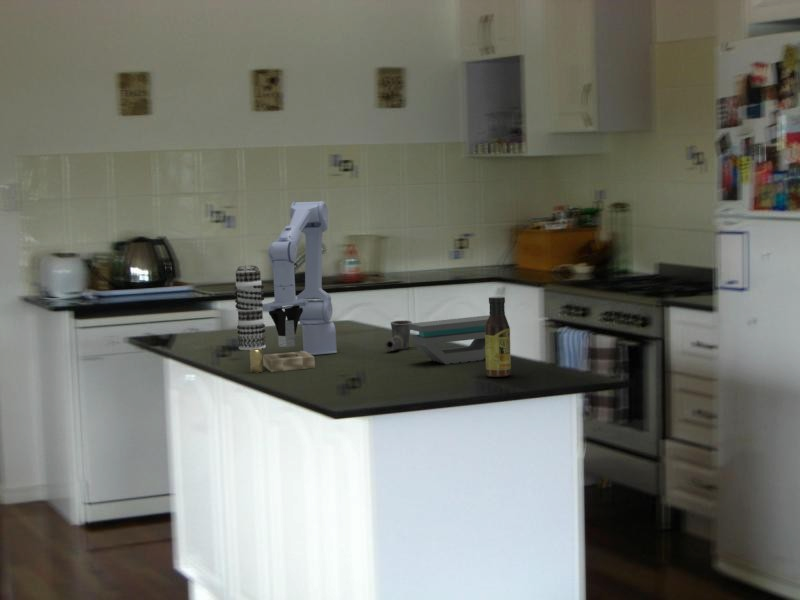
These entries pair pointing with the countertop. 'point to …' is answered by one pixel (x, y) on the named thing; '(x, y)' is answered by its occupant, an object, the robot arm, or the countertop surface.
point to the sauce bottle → (497, 340)
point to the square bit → (288, 335)
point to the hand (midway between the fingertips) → (287, 335)
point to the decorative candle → (249, 308)
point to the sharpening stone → (451, 338)
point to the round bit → (256, 360)
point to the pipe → (398, 336)
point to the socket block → (288, 361)
